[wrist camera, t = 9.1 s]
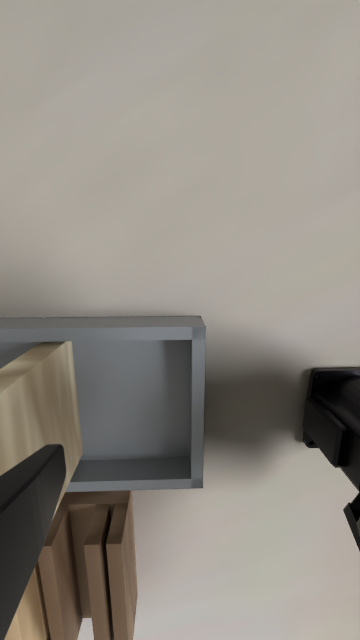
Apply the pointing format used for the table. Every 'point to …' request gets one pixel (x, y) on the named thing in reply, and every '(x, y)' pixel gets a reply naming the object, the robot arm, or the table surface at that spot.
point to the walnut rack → (91, 566)
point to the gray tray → (129, 396)
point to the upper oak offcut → (27, 616)
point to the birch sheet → (40, 407)
